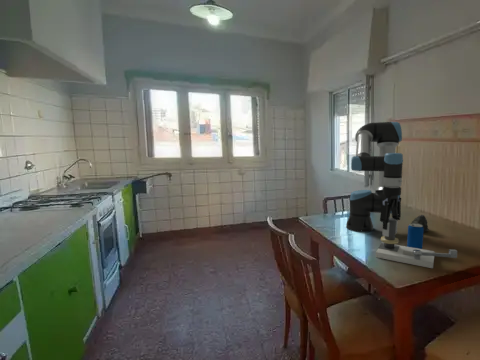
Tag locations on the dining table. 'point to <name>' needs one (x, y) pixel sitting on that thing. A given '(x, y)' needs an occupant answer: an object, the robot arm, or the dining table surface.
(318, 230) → the dining table surface
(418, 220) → the rock
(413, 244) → the beverage can
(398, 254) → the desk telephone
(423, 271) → the dining table surface
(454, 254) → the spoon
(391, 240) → the grey post on base
